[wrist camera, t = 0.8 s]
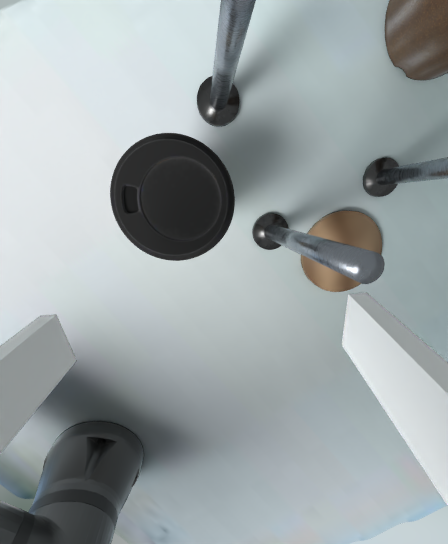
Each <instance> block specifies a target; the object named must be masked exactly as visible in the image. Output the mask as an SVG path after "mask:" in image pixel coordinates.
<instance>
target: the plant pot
mask: <svg viewBox="0 0 448 544" xmlns="http://www.w3.org/2000/svg"><path fill="white" fill-rule="evenodd" d="M385 40H386V46H387V50H388V54H389V57H390V59H391V61H392V62H393V64H394V66H395V67H399V68H401V69H403V71H404V72H405V73H406V76H407V77H409V78H411V79H415V80H429V79H434V78H437V77H439V76H442V75H444V74H446V73H448V0H390V1H389V4H388V8H387V12H386V19H385Z"/></svg>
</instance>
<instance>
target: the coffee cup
mask: <svg viewBox="0 0 448 544" xmlns="http://www.w3.org/2000/svg"><path fill="white" fill-rule="evenodd" d="M110 197H111V205H112V210H113V213H114V216H115V219H116V221H117V223H118V225H119V227H120V228H121V230H122V232H123V233H124V234H125V236H126V237H127V238H128V239H129V240H130V241H131V242H132V243H133V244H134V245H135V246H137V247H138V248H139V249H141V250H142V251H144V252H146V253H147V254H150V255H152V256H154V257H157V258H161V259H165V260H176V261H178V260H187V259H191V258H195V257H197V256H200V255H202V254H204V253H206V252H207V251H209V250H210V249H212V248H213V247H214V246H215V245H216V244H217V243H218V242H219V241H220V240H221V239H222V238H223V236H224V235H225V233H226V232H227V230H228V228H229V226H230V223H231V220H232V217H233V213H234V204H235V197H234V189H233V184H232V181H231V178H230V175H229V173H228V171H227V169H226V167H225V165H224V164H223V163H222V161H221V160H220V159H219V157H218V156H217V155H216V154H215V153H214V152H213V151H212V150H211V149H210V148H209V147H207V146H206V145H204V144H203V143H201V142H200V141H198V140H196V139H194V138H191V137H189V136H186V135H182V134H176V133H161V134H156V135H152V136H149V137H146V138H144V139H142V140H140V141H138V142H137V143H135V144H134V145H133V146H131V147H130V148H129V149H128V150H127V151H126V152H125V153H124V154H123V156H122V157H121V159H120V160H119V162H118V164H117V166H116V168H115V170H114V173H113V176H112V181H111V188H110Z"/></svg>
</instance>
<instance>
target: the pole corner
mask: <svg viewBox="0 0 448 544" xmlns="http://www.w3.org/2000/svg"><path fill="white" fill-rule="evenodd" d="M252 233H253V238H254V241H255V242H256V243H257V245H259V246H260V247H262V248H264V249H267V250H272V249H276V248H278V247H280V246H281V245H282V246H284V247H286V248H289V249H291V250H293V251H295V252H297V253H299V254H301V255H303V256H305V257H307V258H309V259H311V260H313V261H316V262H318V263H320V264H322V265H324V266H326V267H328V268H330V269H332V270H334V271H336V272H338V273H341V274H343V275H345V276H347V277H349V278H351V279H353V280H355V281H357V282H359V283H362V284H369V283H372V282H374V281H375V280H377V279H378V278H379V277H380V276H381V274H382V272H383V270H384V259H383V257H382V256H381V255H380V254H379V253H377V252H374V251H370V250H366V249H363V248H359V247H355V246H351V245H348V244H344V243H340V242H336V241H332V240H329V239H325V238H321V237H317V236H313V235H310V234H306V233H302V232H298V231H295V230H291V229H288V225H287V222H286V221H285V219H284V218H283V217H282V216H280V215H278V214H274V213H268V214H265V215H262V216H261V217H259V218H258V219H257V221H256V222H255V224H254V226H253V231H252Z"/></svg>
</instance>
